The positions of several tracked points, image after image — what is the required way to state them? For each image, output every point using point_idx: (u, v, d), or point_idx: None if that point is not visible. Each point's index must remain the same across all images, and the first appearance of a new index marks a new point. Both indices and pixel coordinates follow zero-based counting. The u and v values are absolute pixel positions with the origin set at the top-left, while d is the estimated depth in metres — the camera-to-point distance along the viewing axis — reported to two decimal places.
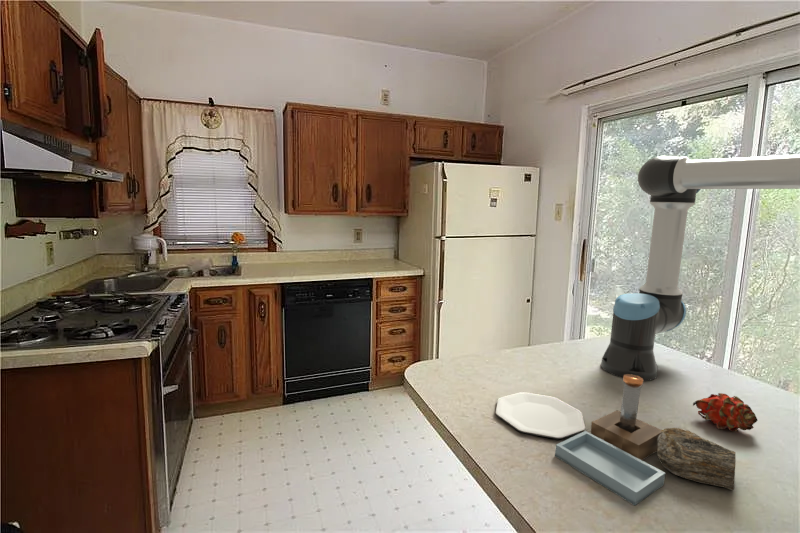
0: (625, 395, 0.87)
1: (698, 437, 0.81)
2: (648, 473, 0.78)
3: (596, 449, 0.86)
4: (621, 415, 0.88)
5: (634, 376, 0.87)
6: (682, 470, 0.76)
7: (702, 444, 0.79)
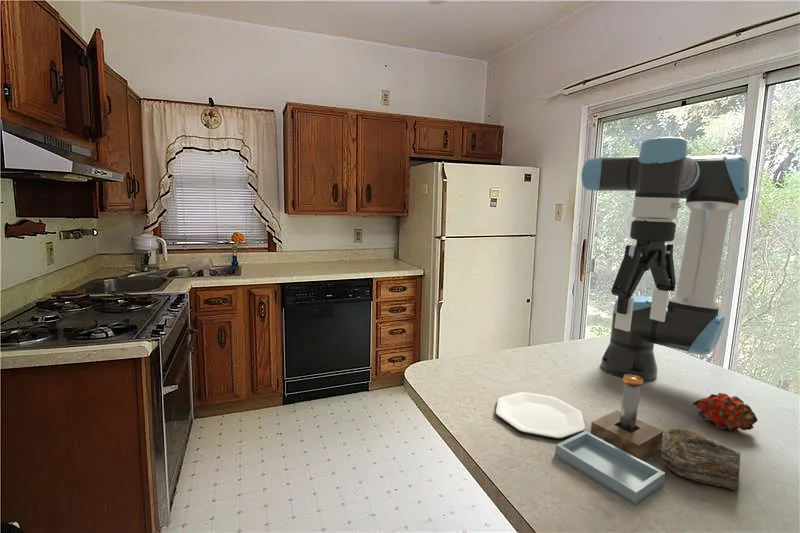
0: (625, 396, 0.87)
1: (703, 438, 0.81)
2: (648, 473, 0.78)
3: (596, 449, 0.86)
4: (621, 415, 0.88)
5: (634, 376, 0.87)
6: (686, 470, 0.76)
7: (706, 445, 0.79)
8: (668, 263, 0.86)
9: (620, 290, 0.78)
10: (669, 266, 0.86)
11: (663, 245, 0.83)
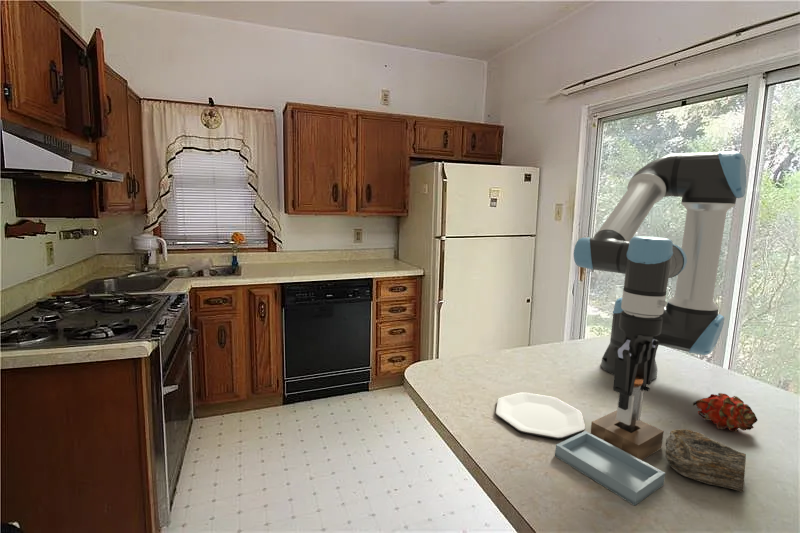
0: None
1: (708, 439, 0.81)
2: (648, 473, 0.78)
3: (596, 449, 0.86)
4: None
5: None
6: (690, 471, 0.76)
7: (711, 446, 0.79)
8: (650, 358, 0.88)
9: (621, 389, 0.84)
10: (651, 361, 0.88)
11: None
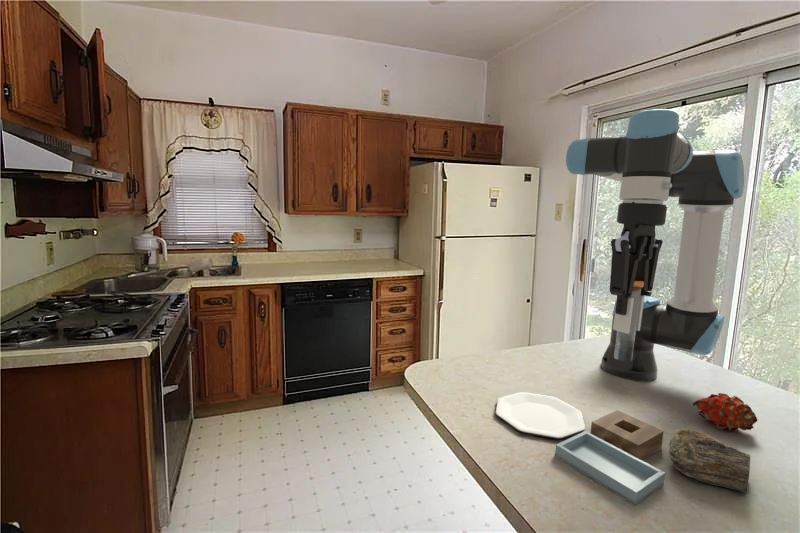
0: None
1: (712, 439, 0.81)
2: (648, 473, 0.78)
3: (596, 449, 0.86)
4: None
5: None
6: (694, 471, 0.76)
7: (715, 447, 0.79)
8: (652, 259, 0.77)
9: (619, 289, 0.73)
10: (653, 262, 0.77)
11: (654, 230, 0.75)
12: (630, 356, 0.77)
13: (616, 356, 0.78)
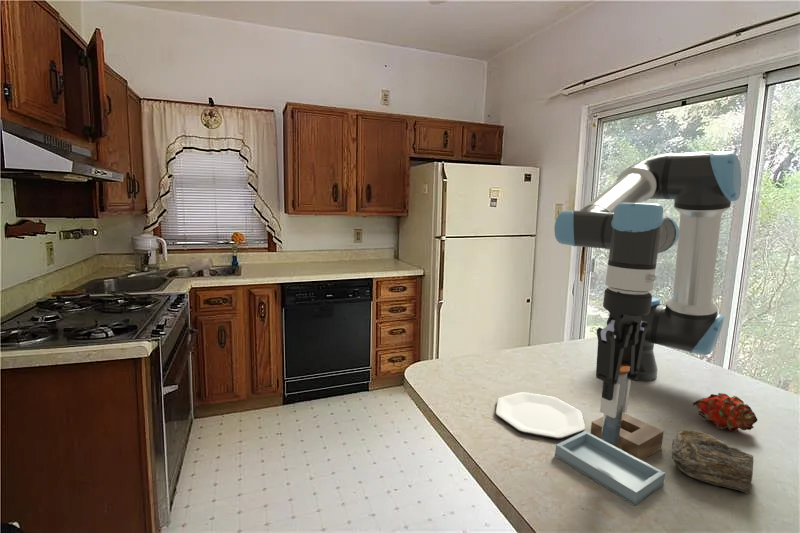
0: None
1: (715, 440, 0.80)
2: (648, 473, 0.78)
3: (596, 449, 0.86)
4: None
5: None
6: (696, 471, 0.76)
7: (718, 447, 0.79)
8: (638, 342, 0.78)
9: (605, 377, 0.74)
10: (639, 345, 0.78)
11: (640, 316, 0.76)
12: (617, 438, 0.77)
13: (603, 437, 0.78)
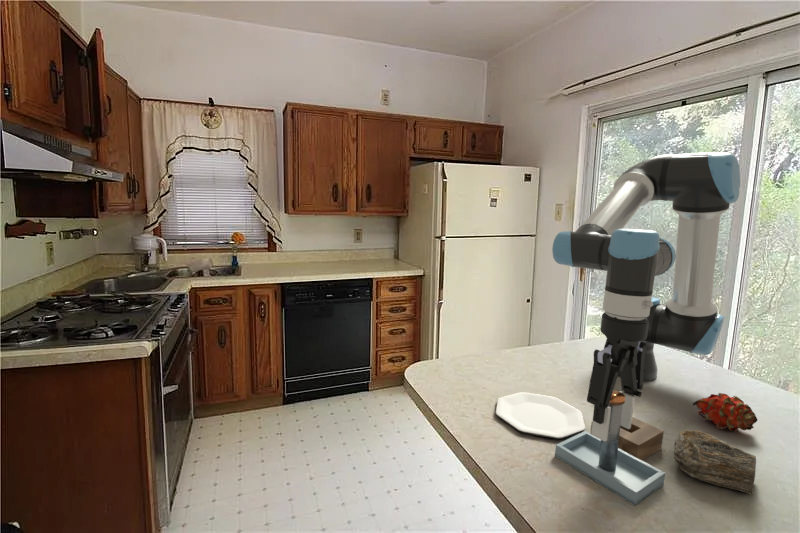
0: None
1: (717, 440, 0.80)
2: (648, 473, 0.78)
3: (596, 449, 0.86)
4: None
5: (615, 393, 0.78)
6: (698, 472, 0.76)
7: (721, 447, 0.78)
8: (638, 362, 0.79)
9: (596, 401, 0.73)
10: (639, 365, 0.79)
11: None
12: (614, 466, 0.79)
13: (600, 465, 0.80)
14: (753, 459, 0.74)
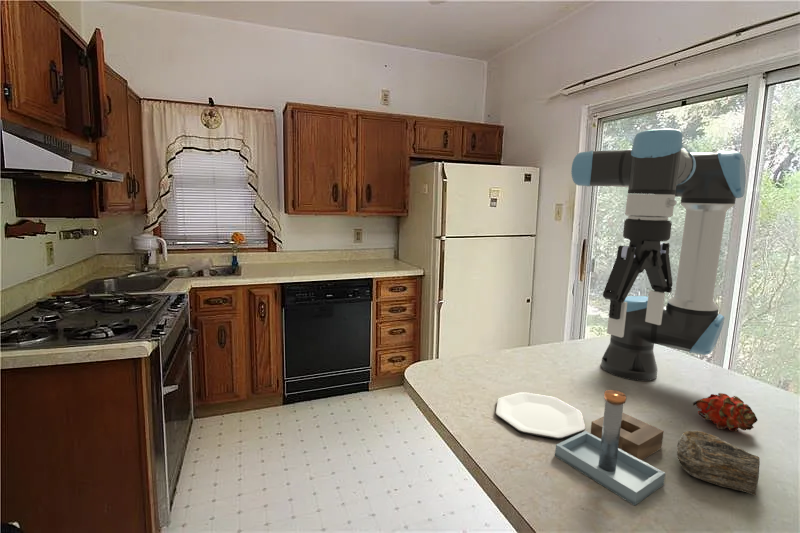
0: (606, 414, 0.78)
1: (721, 441, 0.80)
2: (648, 473, 0.78)
3: (596, 449, 0.86)
4: (602, 436, 0.79)
5: (616, 392, 0.78)
6: (701, 472, 0.76)
7: (724, 448, 0.78)
8: (664, 263, 0.81)
9: (612, 294, 0.73)
10: (666, 266, 0.81)
11: (658, 244, 0.78)
12: (614, 466, 0.79)
13: (600, 465, 0.80)
14: (756, 460, 0.74)
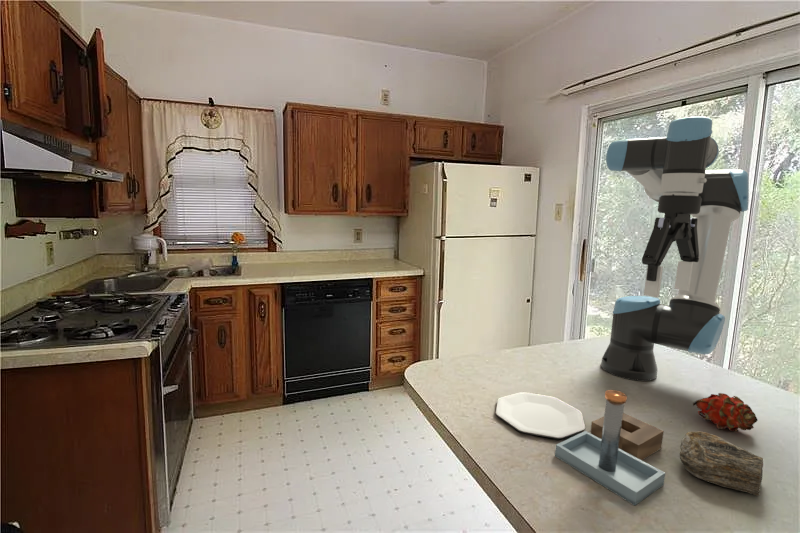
0: (607, 414, 0.78)
1: (724, 441, 0.80)
2: (648, 473, 0.78)
3: (596, 449, 0.86)
4: (603, 435, 0.79)
5: (617, 392, 0.78)
6: (704, 472, 0.76)
7: (727, 449, 0.78)
8: (692, 236, 0.92)
9: (650, 258, 0.84)
10: (694, 238, 0.92)
11: (689, 218, 0.89)
12: (614, 466, 0.79)
13: (600, 465, 0.80)
14: (760, 461, 0.74)
